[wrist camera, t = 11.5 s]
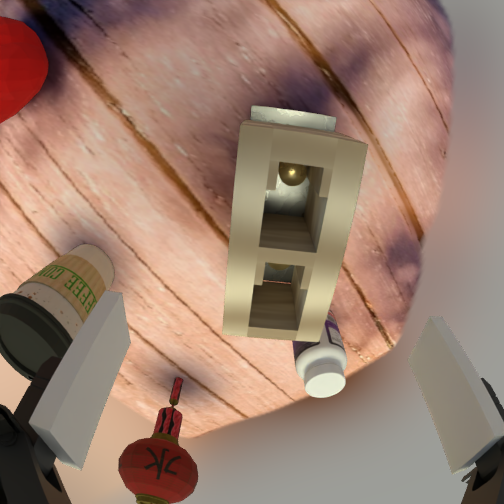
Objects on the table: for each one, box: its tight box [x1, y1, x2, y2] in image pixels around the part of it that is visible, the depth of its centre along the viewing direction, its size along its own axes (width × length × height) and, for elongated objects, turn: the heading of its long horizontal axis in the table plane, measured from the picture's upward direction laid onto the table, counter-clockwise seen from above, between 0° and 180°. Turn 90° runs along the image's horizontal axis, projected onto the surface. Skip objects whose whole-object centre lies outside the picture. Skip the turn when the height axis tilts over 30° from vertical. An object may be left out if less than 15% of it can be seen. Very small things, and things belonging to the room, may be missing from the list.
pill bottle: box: [292, 311, 347, 398], centre depth 32 cm, size 5×5×10 cm
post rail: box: [250, 105, 336, 283], centre depth 26 cm, size 16×7×6 cm, turn 174°
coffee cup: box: [0, 244, 114, 381], centre depth 27 cm, size 10×10×15 cm
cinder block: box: [222, 120, 368, 342], centre depth 25 cm, size 16×8×7 cm, turn 174°
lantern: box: [118, 377, 198, 504], centre depth 28 cm, size 10×10×30 cm
